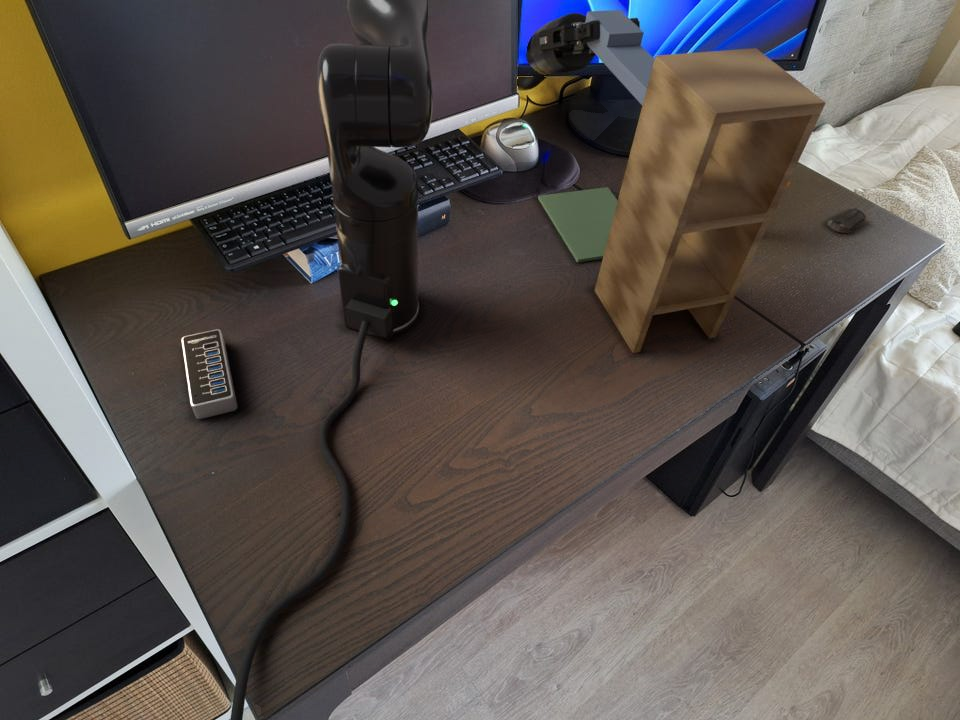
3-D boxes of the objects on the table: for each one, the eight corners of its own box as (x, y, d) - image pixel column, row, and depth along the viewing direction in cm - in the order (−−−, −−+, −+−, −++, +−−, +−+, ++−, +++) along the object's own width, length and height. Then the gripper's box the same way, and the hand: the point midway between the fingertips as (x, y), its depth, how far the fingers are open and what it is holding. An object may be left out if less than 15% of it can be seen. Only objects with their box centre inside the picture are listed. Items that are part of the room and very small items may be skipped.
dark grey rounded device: (863, 223, 107) (869, 214, 105) (844, 237, 104) (849, 227, 102) (843, 212, 108) (848, 203, 107) (823, 225, 106) (828, 215, 104)
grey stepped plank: (687, 112, 78) (700, 75, 75) (651, 116, 77) (662, 78, 74) (612, 36, 91) (620, 1, 88) (580, 37, 90) (586, 3, 87)
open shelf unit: (715, 337, 87) (826, 102, 63) (632, 353, 84) (716, 113, 60) (671, 277, 94) (756, 47, 71) (594, 290, 91) (655, 55, 68)
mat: (652, 251, 98) (653, 248, 98) (577, 262, 95) (578, 259, 95) (607, 190, 108) (607, 186, 108) (538, 198, 105) (538, 195, 105)
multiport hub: (196, 420, 73) (190, 407, 71) (185, 349, 79) (180, 336, 78) (238, 409, 74) (233, 396, 72) (224, 341, 81) (220, 328, 79)
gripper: (516, 20, 98) (564, -3, 82) (605, 15, 101) (667, -8, 86) (520, 75, 100) (566, 63, 85) (606, 69, 104) (666, 56, 88)
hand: (616, 28), depth 85 cm, fingers closed on grey stepped plank, 4 cm apart
